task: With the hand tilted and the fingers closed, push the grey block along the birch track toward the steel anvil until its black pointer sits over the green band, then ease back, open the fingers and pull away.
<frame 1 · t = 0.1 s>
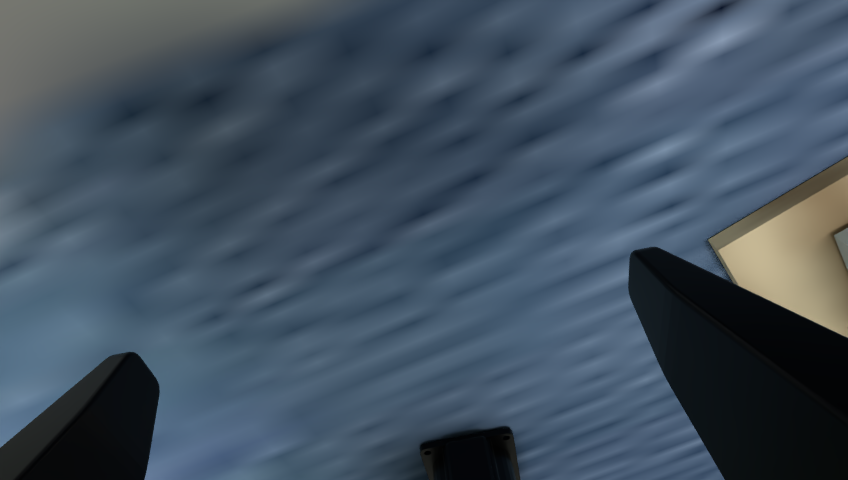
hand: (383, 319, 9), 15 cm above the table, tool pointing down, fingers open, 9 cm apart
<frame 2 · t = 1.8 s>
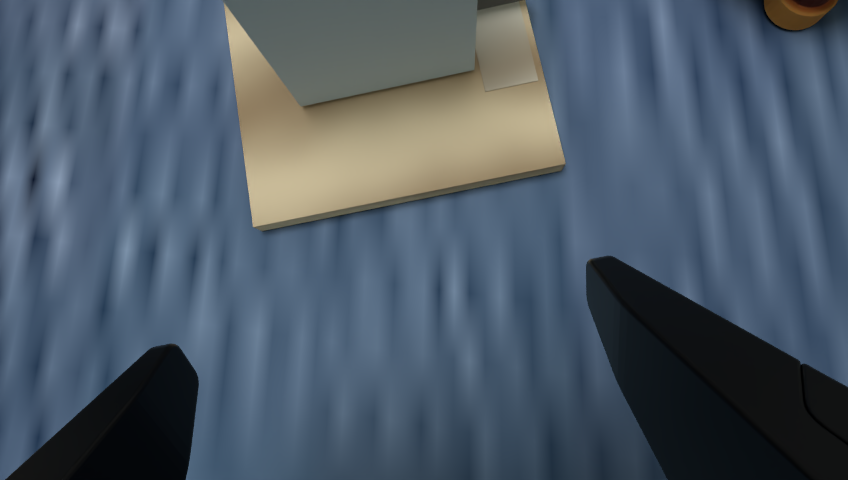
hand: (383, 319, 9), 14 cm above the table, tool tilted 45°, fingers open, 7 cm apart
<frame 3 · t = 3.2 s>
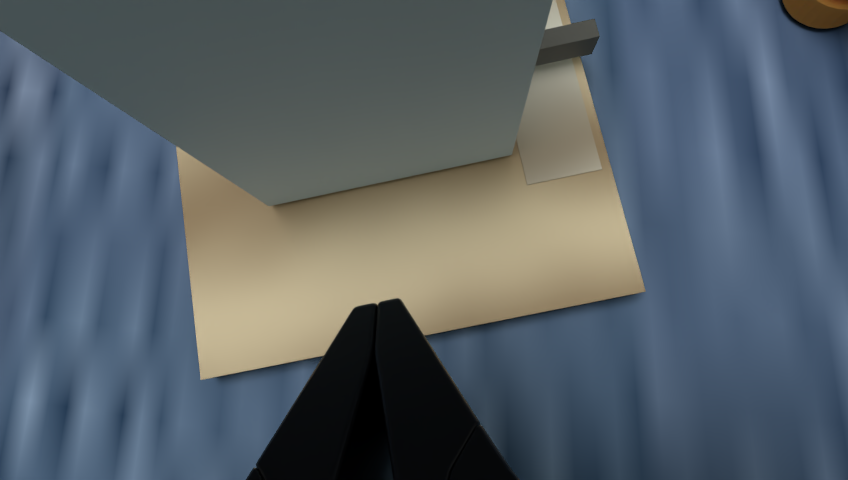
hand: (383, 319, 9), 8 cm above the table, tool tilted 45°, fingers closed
gauge track: (360, 14, 19), on the table
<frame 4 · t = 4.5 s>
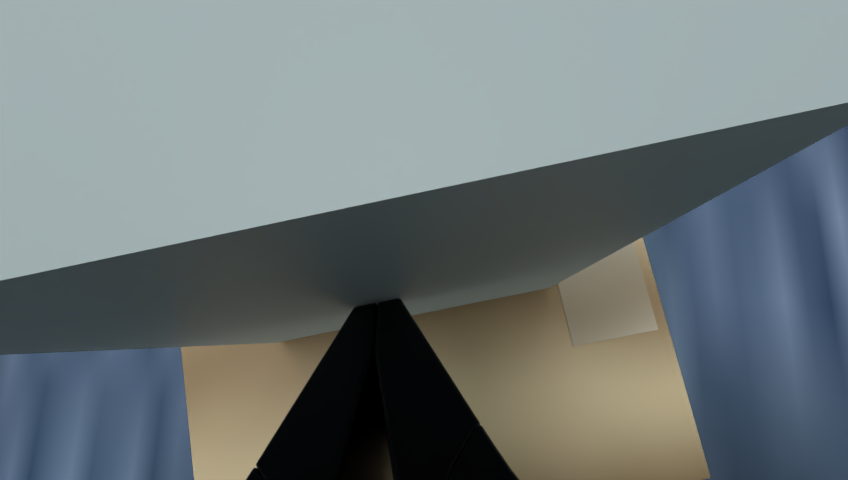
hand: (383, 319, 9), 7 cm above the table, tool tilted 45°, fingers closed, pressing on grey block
gauge track: (380, 130, 17), on the table
grey block: (433, 122, 9), point 7 cm above the table, slide at 0.7 cm, touching gripper
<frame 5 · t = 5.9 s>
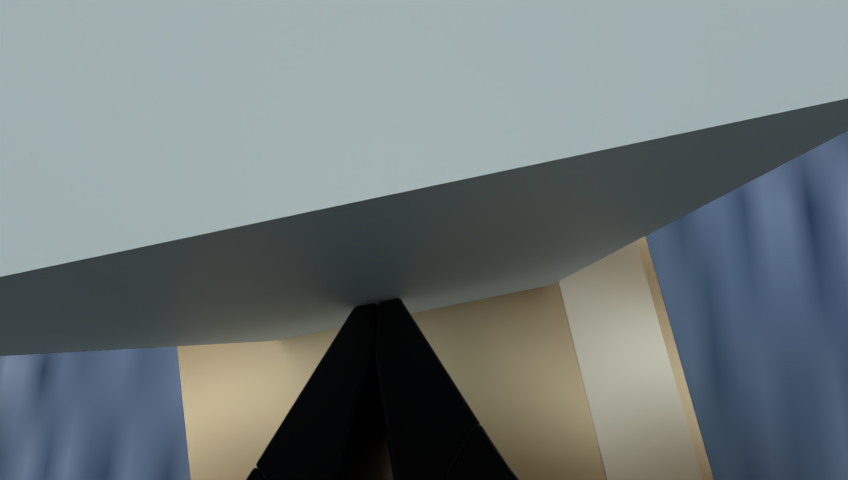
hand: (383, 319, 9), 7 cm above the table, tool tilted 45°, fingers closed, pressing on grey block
gauge track: (409, 285, 16), on the table
grey block: (432, 117, 9), point 7 cm above the table, slide at 6.1 cm, touching gripper
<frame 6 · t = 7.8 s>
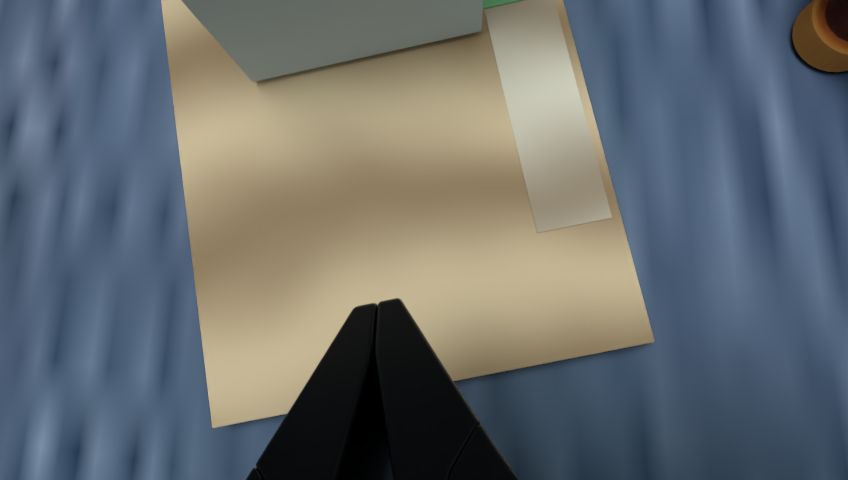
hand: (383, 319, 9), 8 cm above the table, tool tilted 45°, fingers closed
gauge track: (368, 52, 19), on the table
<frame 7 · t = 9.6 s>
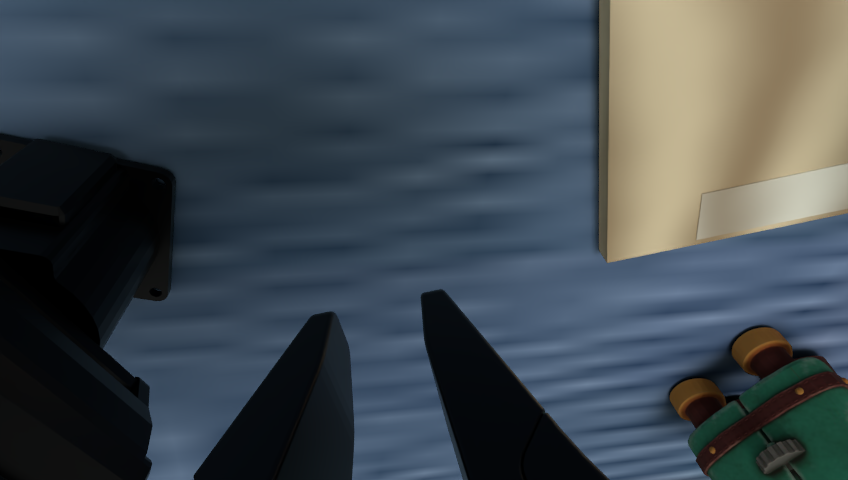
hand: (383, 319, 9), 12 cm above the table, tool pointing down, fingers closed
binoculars: (750, 379, 31), on the table
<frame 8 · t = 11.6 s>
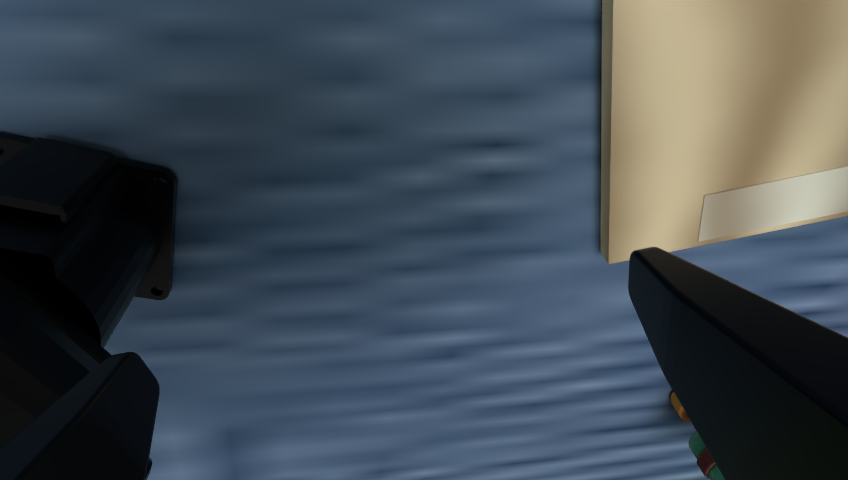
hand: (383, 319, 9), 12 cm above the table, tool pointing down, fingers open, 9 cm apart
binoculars: (751, 381, 31), on the table
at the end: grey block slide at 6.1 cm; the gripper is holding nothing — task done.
